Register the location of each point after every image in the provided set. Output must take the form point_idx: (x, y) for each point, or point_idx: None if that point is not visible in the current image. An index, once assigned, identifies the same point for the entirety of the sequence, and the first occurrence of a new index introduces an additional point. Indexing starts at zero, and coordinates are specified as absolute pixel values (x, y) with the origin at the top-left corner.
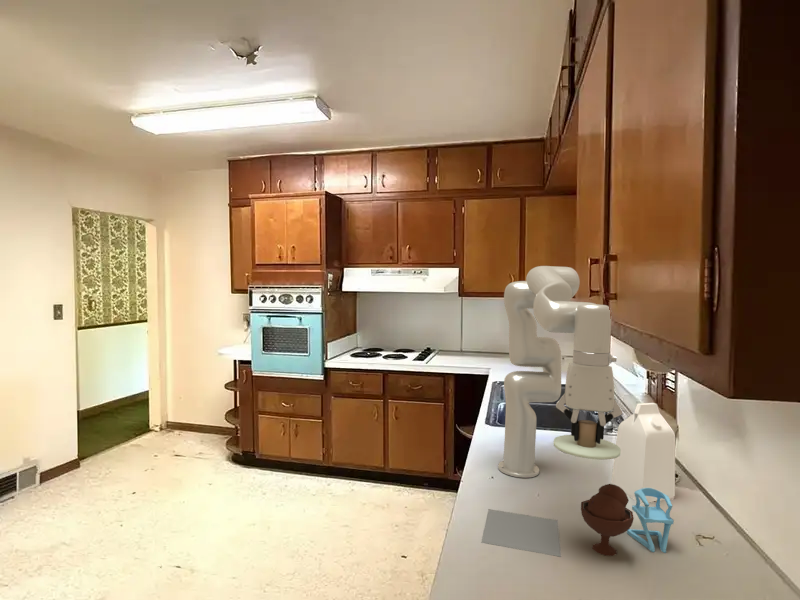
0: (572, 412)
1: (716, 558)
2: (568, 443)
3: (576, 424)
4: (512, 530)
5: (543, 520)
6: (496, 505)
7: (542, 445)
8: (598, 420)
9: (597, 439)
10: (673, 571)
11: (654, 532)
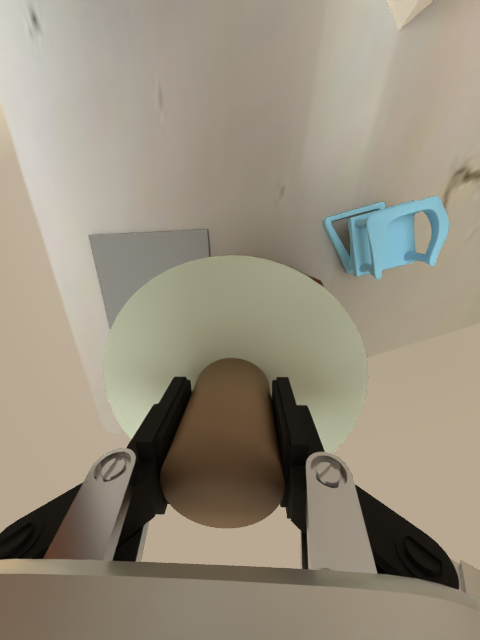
0: (79, 525)
1: (445, 255)
2: None
3: (157, 509)
4: None
5: (184, 242)
6: (96, 202)
7: None
8: (299, 494)
9: None
10: (359, 317)
11: (373, 209)
